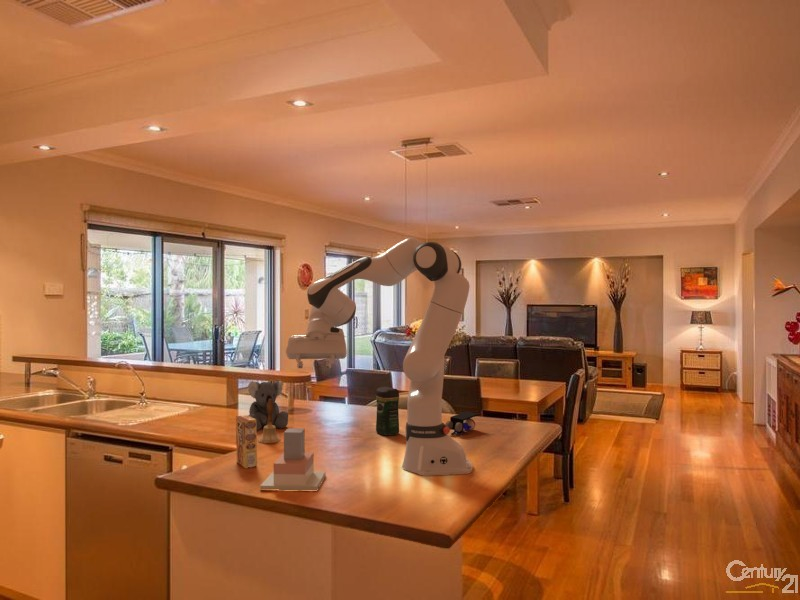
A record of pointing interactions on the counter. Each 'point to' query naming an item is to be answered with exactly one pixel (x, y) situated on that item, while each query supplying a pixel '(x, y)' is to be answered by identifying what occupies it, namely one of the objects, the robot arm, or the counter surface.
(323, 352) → the robot arm
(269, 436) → the hand bell
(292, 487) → the brick tower base
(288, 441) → the slate brick
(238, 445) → the candy box
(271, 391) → the koala plush
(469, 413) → the figurine character
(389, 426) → the coffee jar
